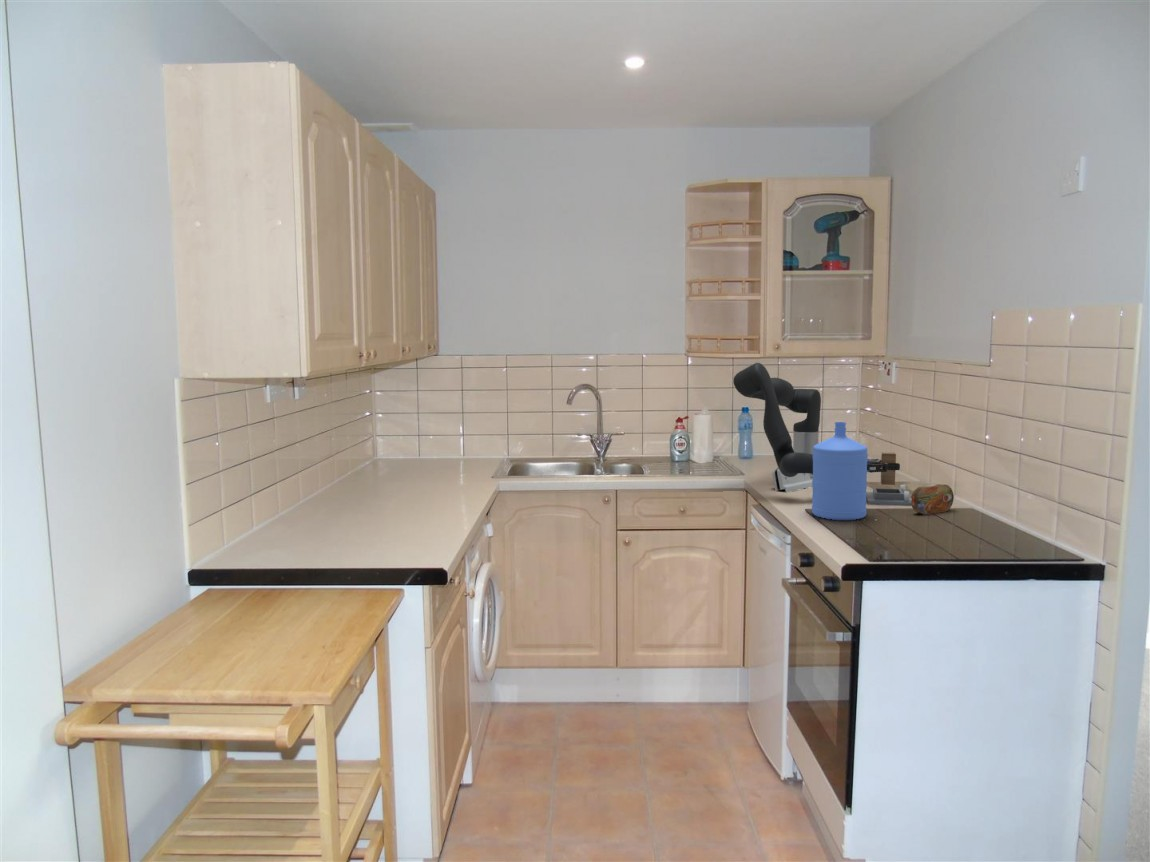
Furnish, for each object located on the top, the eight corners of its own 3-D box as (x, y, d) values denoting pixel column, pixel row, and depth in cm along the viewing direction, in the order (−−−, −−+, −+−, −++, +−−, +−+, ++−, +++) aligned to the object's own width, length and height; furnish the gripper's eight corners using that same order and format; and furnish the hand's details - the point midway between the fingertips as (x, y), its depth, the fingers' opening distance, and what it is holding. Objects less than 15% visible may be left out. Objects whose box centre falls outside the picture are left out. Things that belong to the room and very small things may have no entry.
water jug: (854, 523, 231) (856, 427, 228) (802, 516, 241) (804, 423, 238) (874, 513, 243) (876, 421, 240) (824, 507, 253) (825, 418, 250)
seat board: (865, 494, 270) (865, 483, 270) (906, 496, 267) (907, 484, 266) (868, 504, 256) (868, 491, 256) (912, 505, 253) (912, 493, 252)
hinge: (786, 492, 277) (778, 464, 278) (776, 495, 280) (768, 467, 282) (816, 486, 287) (808, 459, 288) (805, 489, 290) (798, 462, 292)
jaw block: (880, 482, 263) (881, 452, 262) (893, 482, 262) (894, 452, 261) (881, 484, 259) (882, 453, 258) (894, 485, 258) (896, 454, 257)
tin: (917, 516, 239) (917, 488, 238) (908, 514, 242) (909, 486, 241) (954, 510, 245) (955, 483, 244) (945, 508, 248) (946, 481, 247)
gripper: (848, 456, 254) (904, 457, 252) (838, 450, 268) (891, 450, 266) (847, 480, 255) (903, 480, 253) (837, 472, 269) (890, 473, 267)
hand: (896, 465), depth 260 cm, fingers closed on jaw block, 4 cm apart
